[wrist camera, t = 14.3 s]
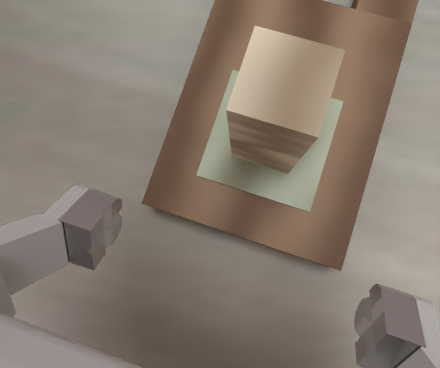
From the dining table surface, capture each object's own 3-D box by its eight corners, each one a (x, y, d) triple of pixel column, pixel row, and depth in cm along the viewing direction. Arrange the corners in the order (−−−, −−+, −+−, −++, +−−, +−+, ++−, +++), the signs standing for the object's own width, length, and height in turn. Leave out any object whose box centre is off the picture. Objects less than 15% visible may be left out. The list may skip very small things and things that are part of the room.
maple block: (231, 156, 23) (225, 110, 14) (249, 102, 24) (254, 25, 15) (288, 173, 23) (318, 137, 14) (305, 119, 23) (345, 49, 14)
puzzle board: (153, 206, 26) (140, 203, 23) (269, -120, 30) (272, -162, 26) (329, 265, 25) (342, 271, 22) (430, -83, 28) (454, -123, 25)
